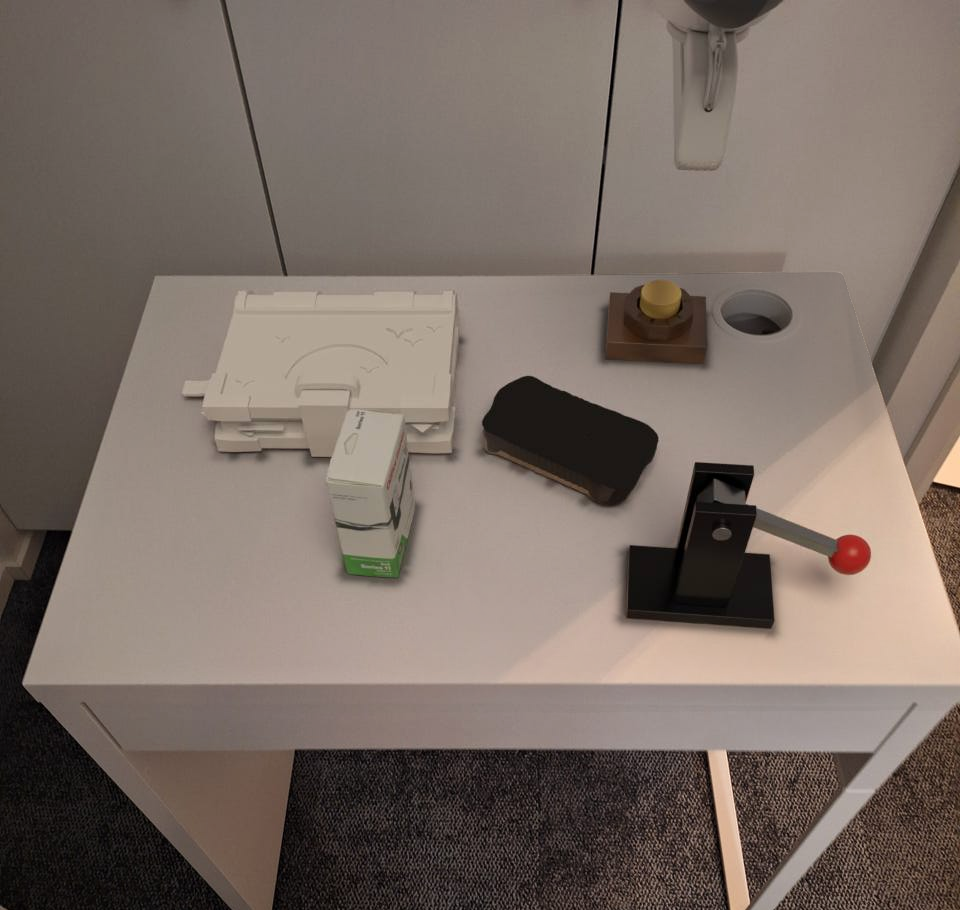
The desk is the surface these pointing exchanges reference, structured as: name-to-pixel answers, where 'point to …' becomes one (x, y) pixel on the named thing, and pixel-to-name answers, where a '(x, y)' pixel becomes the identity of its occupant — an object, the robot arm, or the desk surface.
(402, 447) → the ink box
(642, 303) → the button
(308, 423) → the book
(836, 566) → the lever
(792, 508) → the desk surface
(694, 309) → the button block
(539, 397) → the black sponge
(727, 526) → the bracket
